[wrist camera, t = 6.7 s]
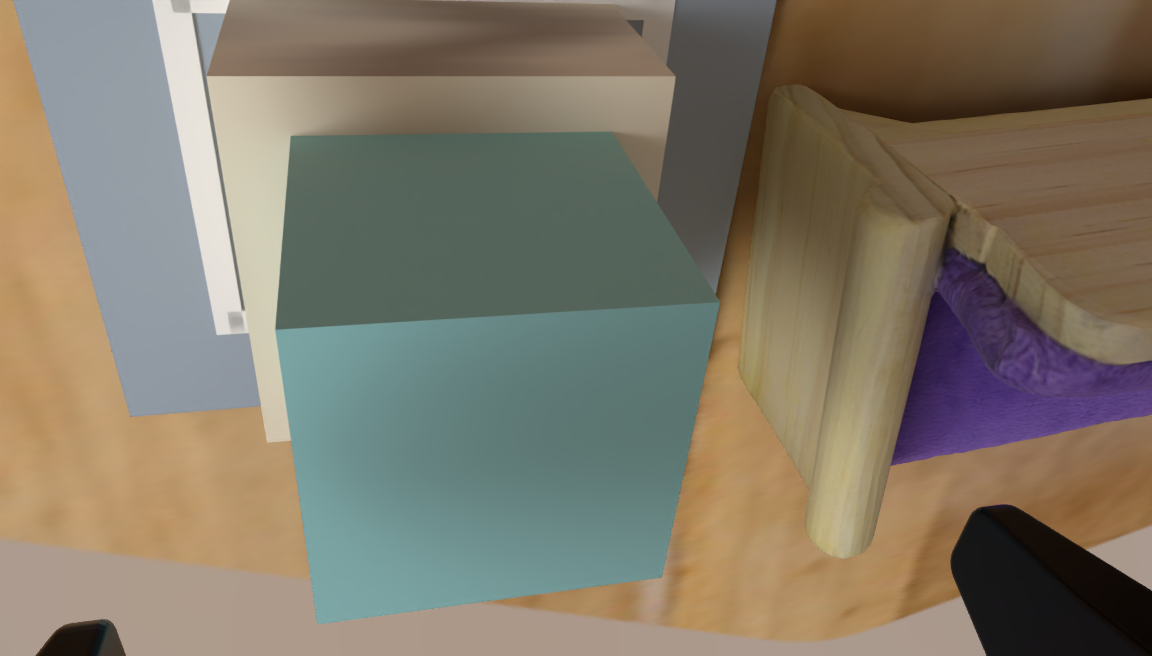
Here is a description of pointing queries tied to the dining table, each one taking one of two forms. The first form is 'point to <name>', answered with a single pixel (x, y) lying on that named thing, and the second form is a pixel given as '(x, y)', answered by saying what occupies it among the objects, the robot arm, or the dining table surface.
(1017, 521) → the robot arm
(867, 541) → the toy sofa
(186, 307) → the building mat
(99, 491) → the dining table surface
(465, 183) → the teal block
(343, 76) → the block
